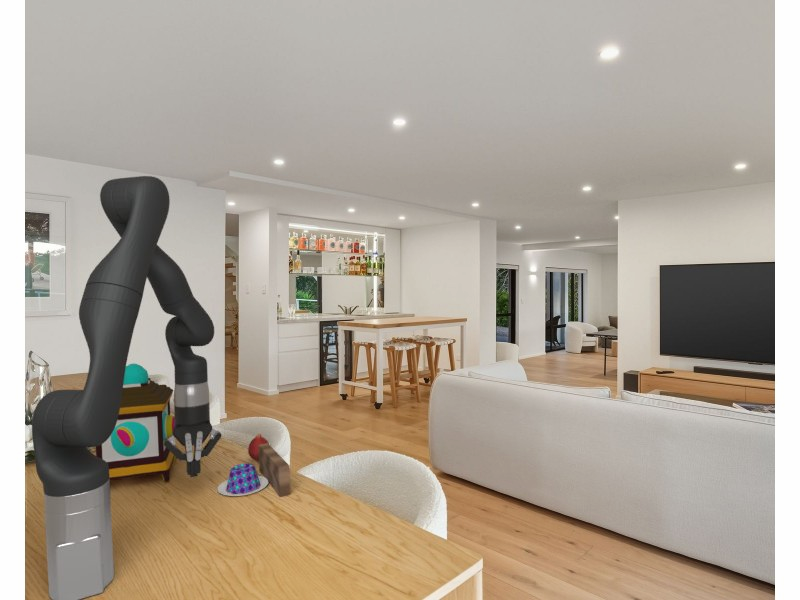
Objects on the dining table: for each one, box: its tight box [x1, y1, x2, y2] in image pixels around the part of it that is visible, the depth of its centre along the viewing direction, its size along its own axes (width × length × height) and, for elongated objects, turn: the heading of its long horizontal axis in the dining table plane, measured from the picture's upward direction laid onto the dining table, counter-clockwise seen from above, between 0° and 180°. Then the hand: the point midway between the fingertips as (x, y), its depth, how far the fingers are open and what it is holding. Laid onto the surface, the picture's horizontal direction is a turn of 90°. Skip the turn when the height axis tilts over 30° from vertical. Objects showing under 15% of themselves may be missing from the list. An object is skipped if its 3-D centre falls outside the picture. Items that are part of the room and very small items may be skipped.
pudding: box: [217, 463, 269, 497], centre depth 120 cm, size 12×12×5 cm
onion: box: [247, 433, 270, 462], centre depth 137 cm, size 6×6×8 cm
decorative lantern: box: [95, 363, 178, 484], centre depth 128 cm, size 20×20×30 cm
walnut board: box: [258, 442, 291, 498], centre depth 123 cm, size 19×2×7 cm, turn 30°
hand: (193, 475), depth 113 cm, fingers closed
